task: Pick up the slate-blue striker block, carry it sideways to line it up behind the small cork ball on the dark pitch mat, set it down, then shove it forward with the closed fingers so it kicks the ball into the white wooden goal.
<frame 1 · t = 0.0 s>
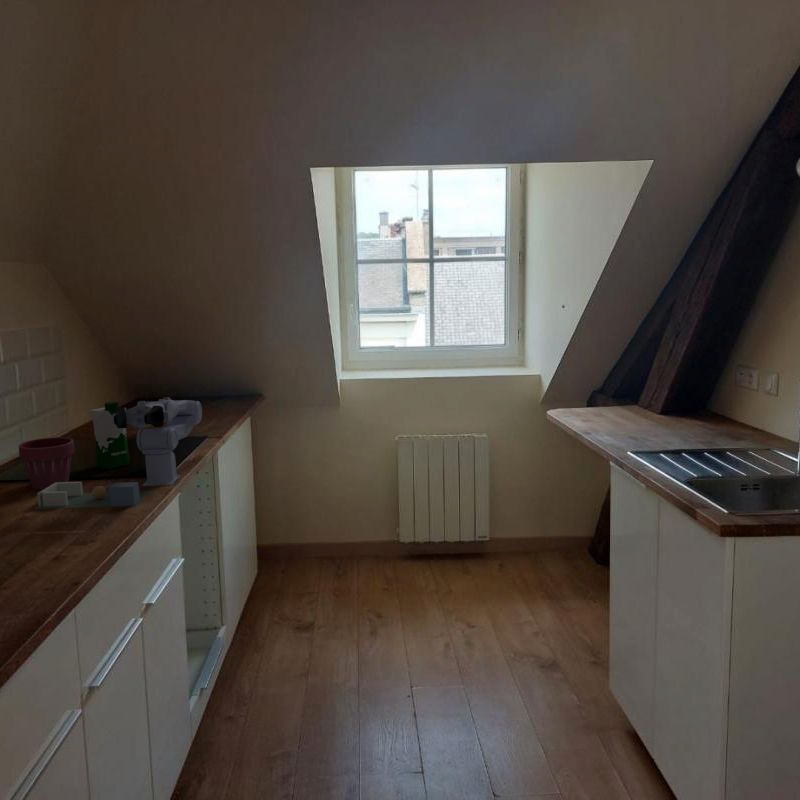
hand: (130, 419, 192), 22 cm above the worktop, tool horizontal, fingers open, 7 cm apart
striker: (125, 503, 193), resting on pitch mat
plant pot: (51, 487, 214), on the worktop
milk carton: (113, 466, 237), on the worktop
pitch mat: (95, 501, 198), on the worktop
ball: (99, 492, 198), point 2 cm above the worktop, touching pitch mat
goal: (61, 500, 198), resting on pitch mat
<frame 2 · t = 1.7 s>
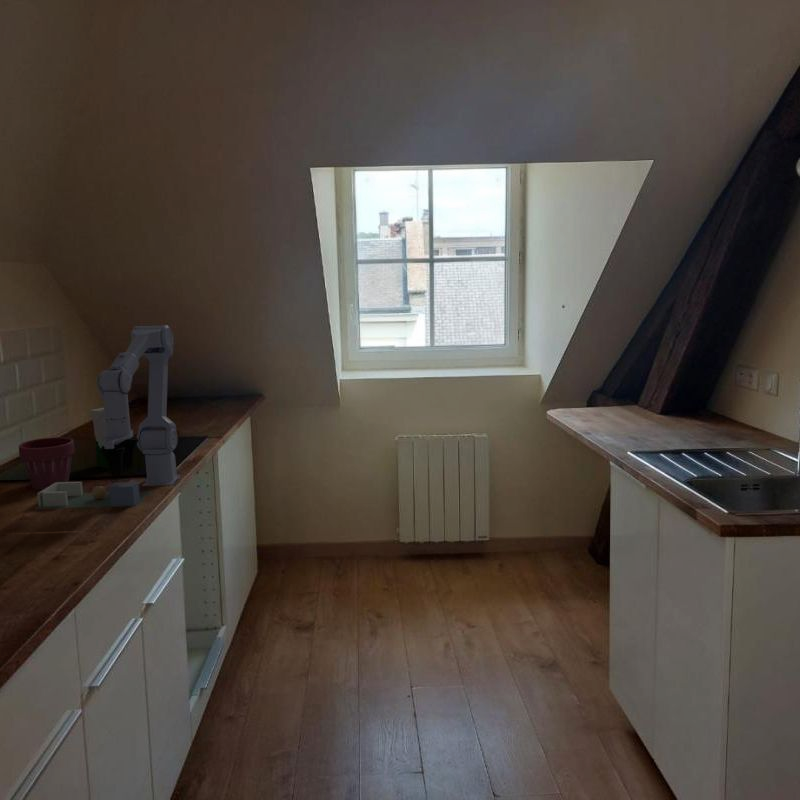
hand: (122, 470, 192), 9 cm above the worktop, tool pointing down, fingers open, 7 cm apart
nothing on the worktop moved.
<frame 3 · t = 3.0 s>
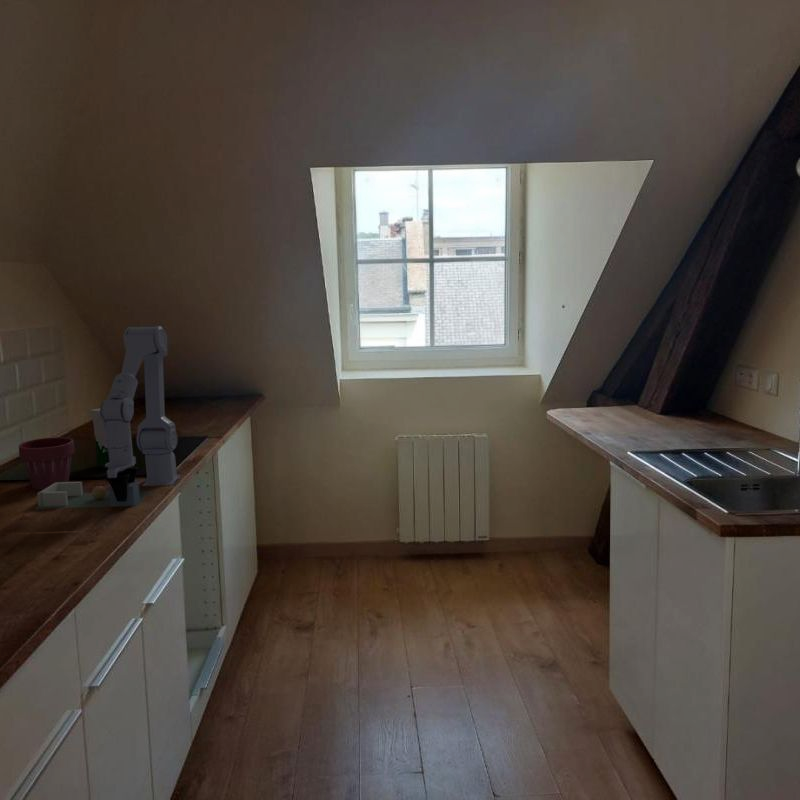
hand: (124, 498, 193), 2 cm above the worktop, tool pointing down, fingers closed on striker, 4 cm apart
striker: (125, 503, 193), resting on pitch mat, touching gripper
everything else where it was.
when the fingers open (2 cm above the worktop, at t = 5.9 s): striker stays where it is, resting on pitch mat.
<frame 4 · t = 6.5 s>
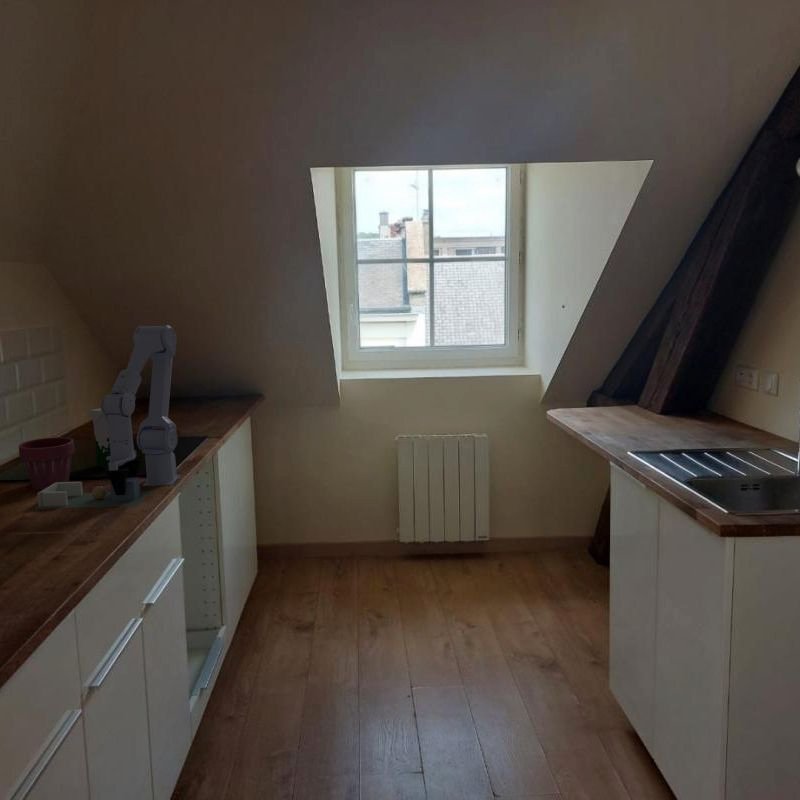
hand: (125, 490, 198), 2 cm above the worktop, tool pointing down, fingers open, 7 cm apart
striker: (126, 498, 198), resting on pitch mat
everything else where it was.
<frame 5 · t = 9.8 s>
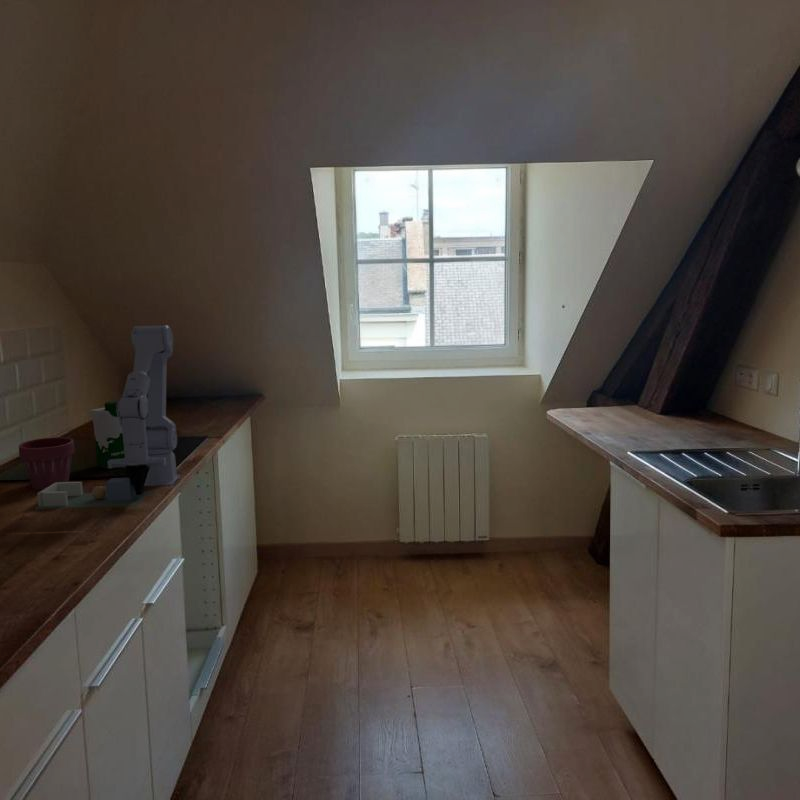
hand: (139, 493, 198), 2 cm above the worktop, tool pointing down, fingers closed
striker: (122, 498, 198), resting on pitch mat, touching gripper
everything else where it was.
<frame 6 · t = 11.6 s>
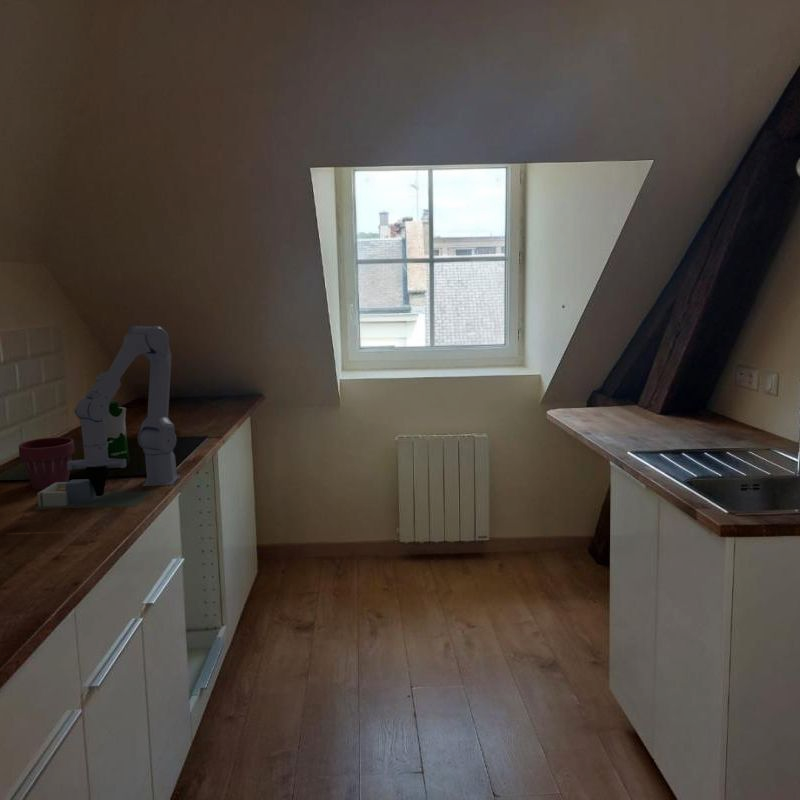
hand: (100, 495, 198), 2 cm above the worktop, tool pointing down, fingers closed
striker: (82, 499, 198), resting on pitch mat, touching gripper
ball: (62, 494, 197), point 2 cm above the worktop, tilted 57°, touching pitch mat
everything else where it was.
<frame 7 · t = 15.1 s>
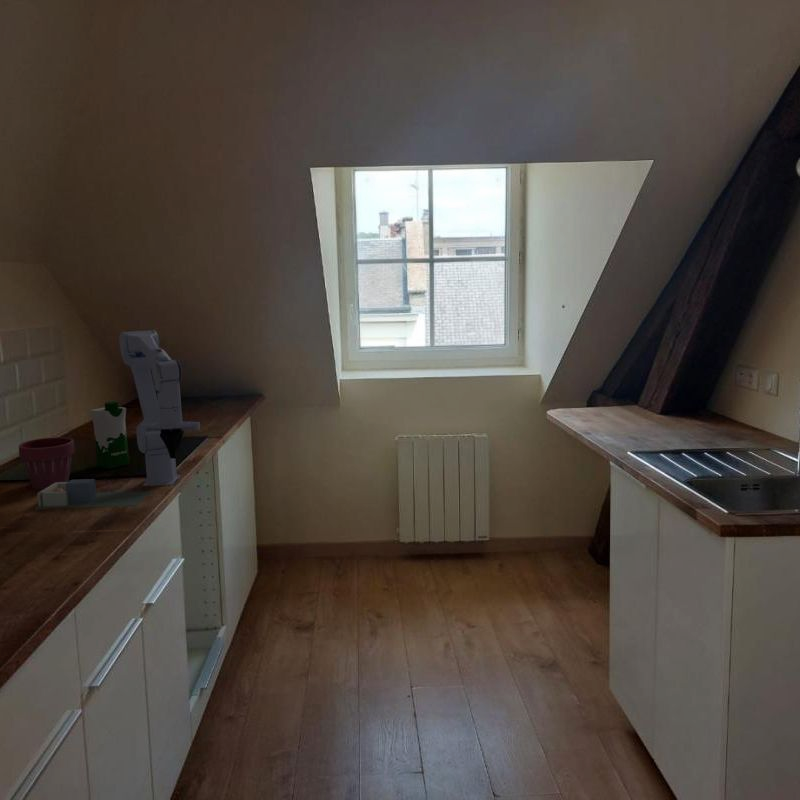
hand: (174, 457, 201), 10 cm above the worktop, tool pointing down, fingers closed
striker: (82, 499, 198), resting on pitch mat
ball: (57, 494, 197), point 2 cm above the worktop, tilted 20°, touching pitch mat
everything else where it was.
at the end: ball inside the target area (1.3 cm from its centre), point 2.1 cm above the worktop; striker moved 13.8 cm from its start; the gripper is holding nothing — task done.
